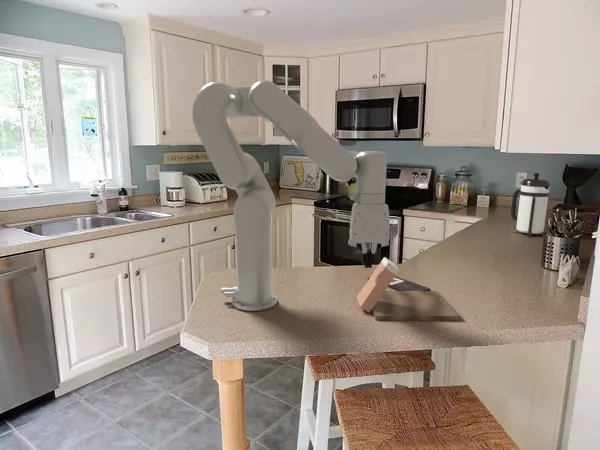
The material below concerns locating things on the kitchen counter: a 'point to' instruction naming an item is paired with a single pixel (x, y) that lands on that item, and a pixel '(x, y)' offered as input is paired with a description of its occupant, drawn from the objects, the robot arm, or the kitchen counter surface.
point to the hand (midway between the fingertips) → (367, 266)
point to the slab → (377, 284)
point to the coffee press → (531, 205)
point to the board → (414, 306)
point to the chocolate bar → (405, 285)
